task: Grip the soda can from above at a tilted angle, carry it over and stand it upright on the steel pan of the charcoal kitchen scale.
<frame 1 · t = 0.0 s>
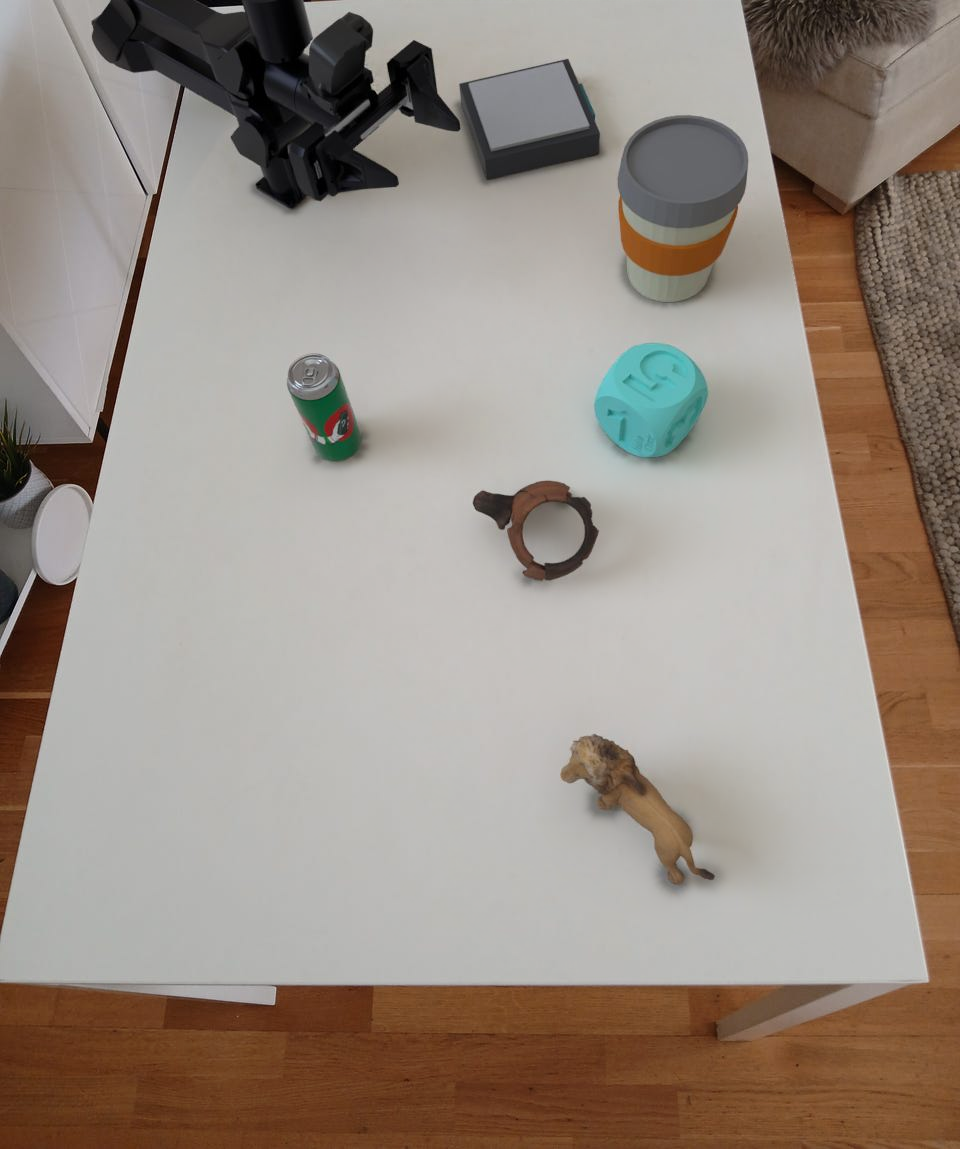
hand: (428, 153, 88), 17 cm above the table, tool horizontal, fingers open, 9 cm apart
scale: (528, 129, 112), on the table
soda can: (339, 444, 95), on the table
decorative dice: (647, 425, 93), on the table
reusable coffee cup: (667, 272, 101), on the table
lion figurine: (632, 818, 76), on the table
jagged brown ring: (535, 537, 88), on the table
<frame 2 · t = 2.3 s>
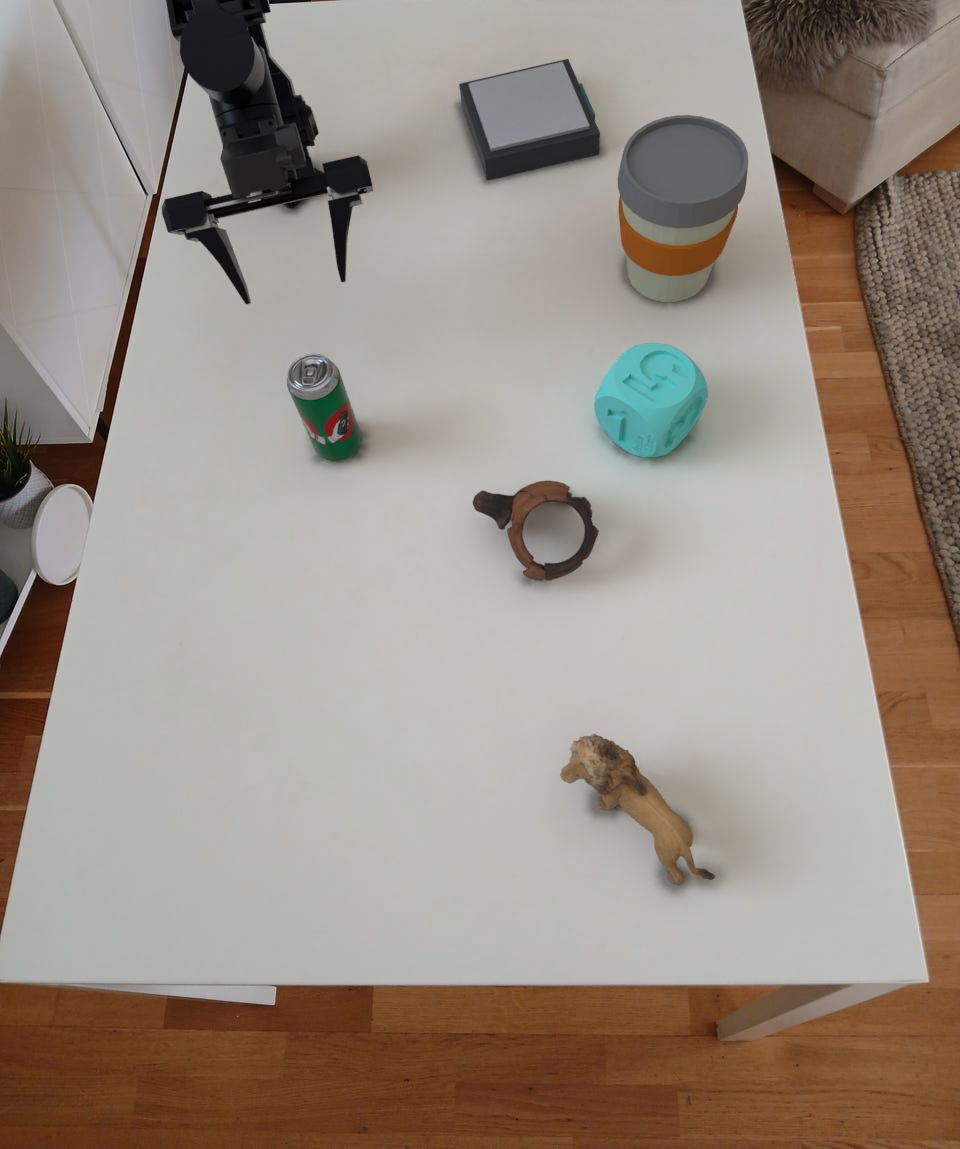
hand: (296, 293, 86), 14 cm above the table, tool tilted 45°, fingers open, 9 cm apart
nothing on the table moved.
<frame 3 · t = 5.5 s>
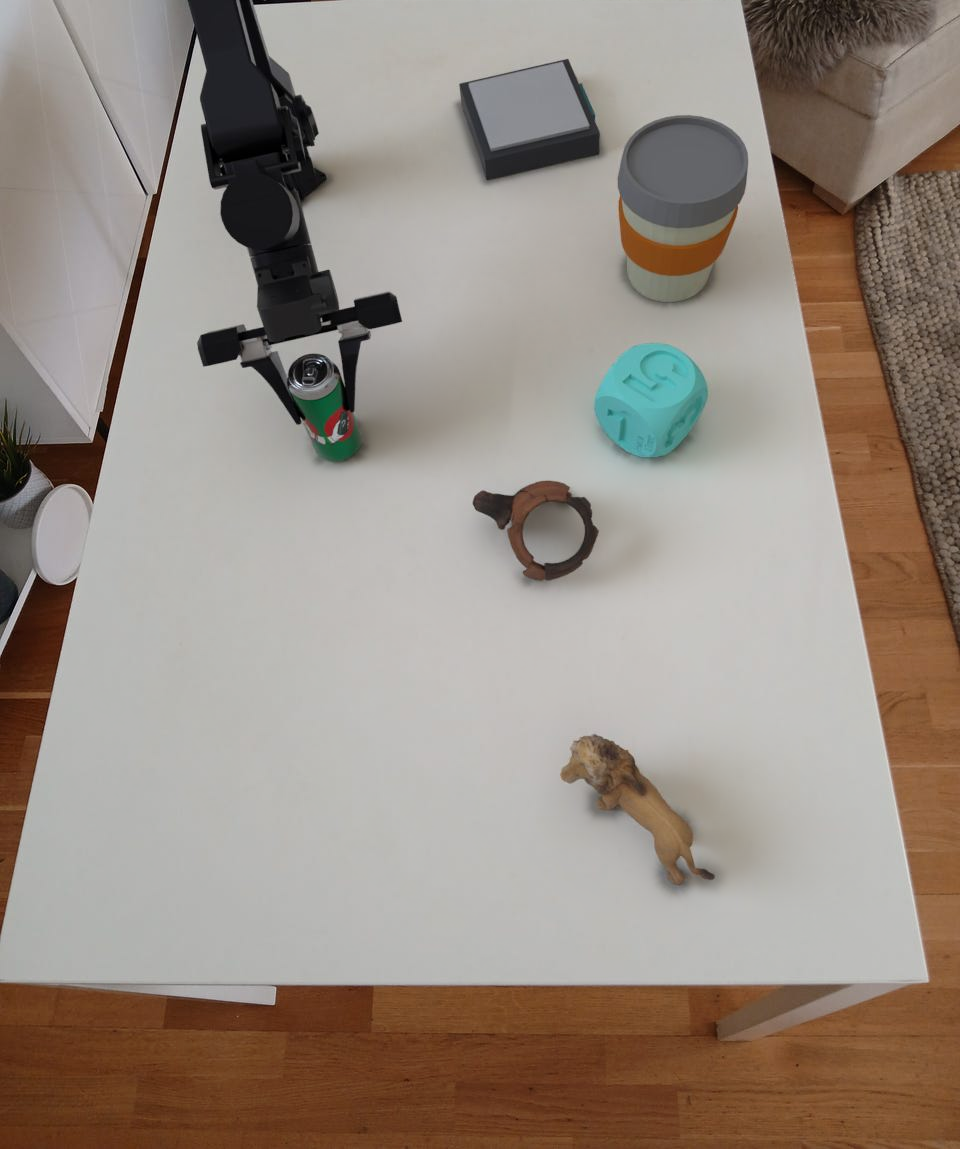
hand: (325, 418, 88), 7 cm above the table, tool tilted 45°, fingers closed on soda can, 5 cm apart
soda can: (339, 445, 95), on the table, touching gripper
everything else where it was.
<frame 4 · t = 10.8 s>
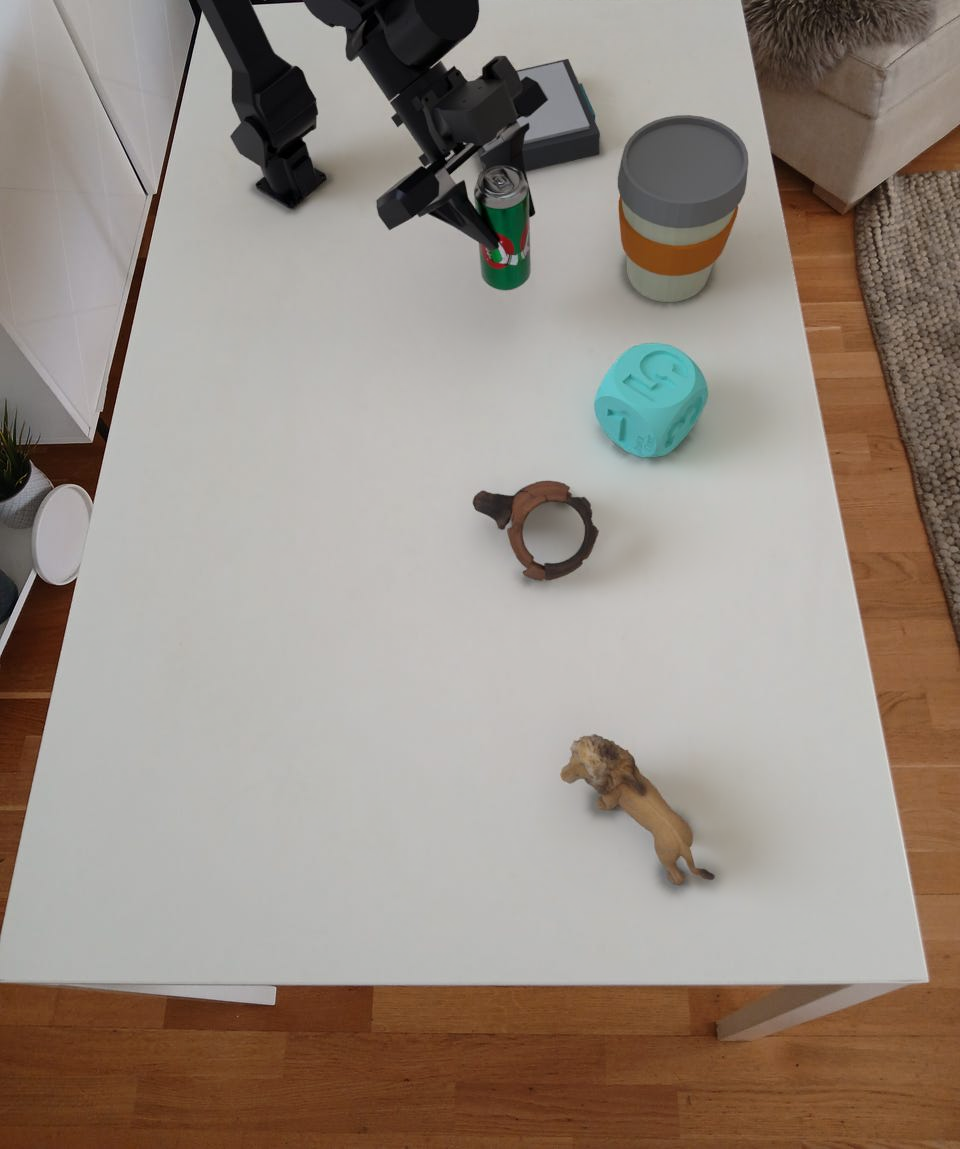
hand: (513, 232, 87), 14 cm above the table, tool tilted 45°, fingers closed on soda can, 5 cm apart
soda can: (506, 276, 94), point 7 cm above the table, touching gripper
everything else where it was.
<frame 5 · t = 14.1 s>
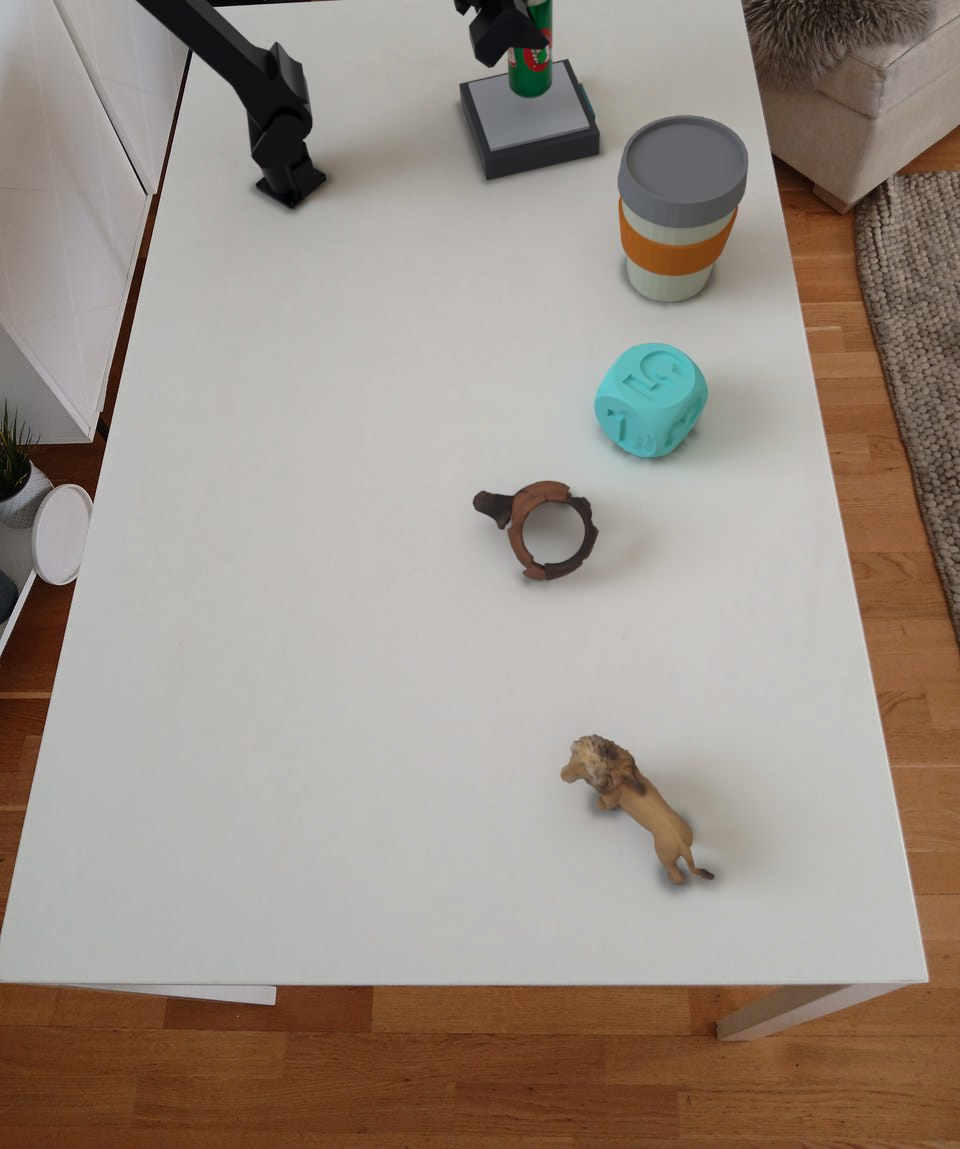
hand: (541, 30, 100), 13 cm above the table, tool tilted 45°, fingers closed on soda can, 5 cm apart
soda can: (530, 88, 106), point 7 cm above the table, touching gripper
everything else where it was.
when the fingers open (10 cm above the table, at t = 16.4 s): soda can stays where it is, resting on scale.
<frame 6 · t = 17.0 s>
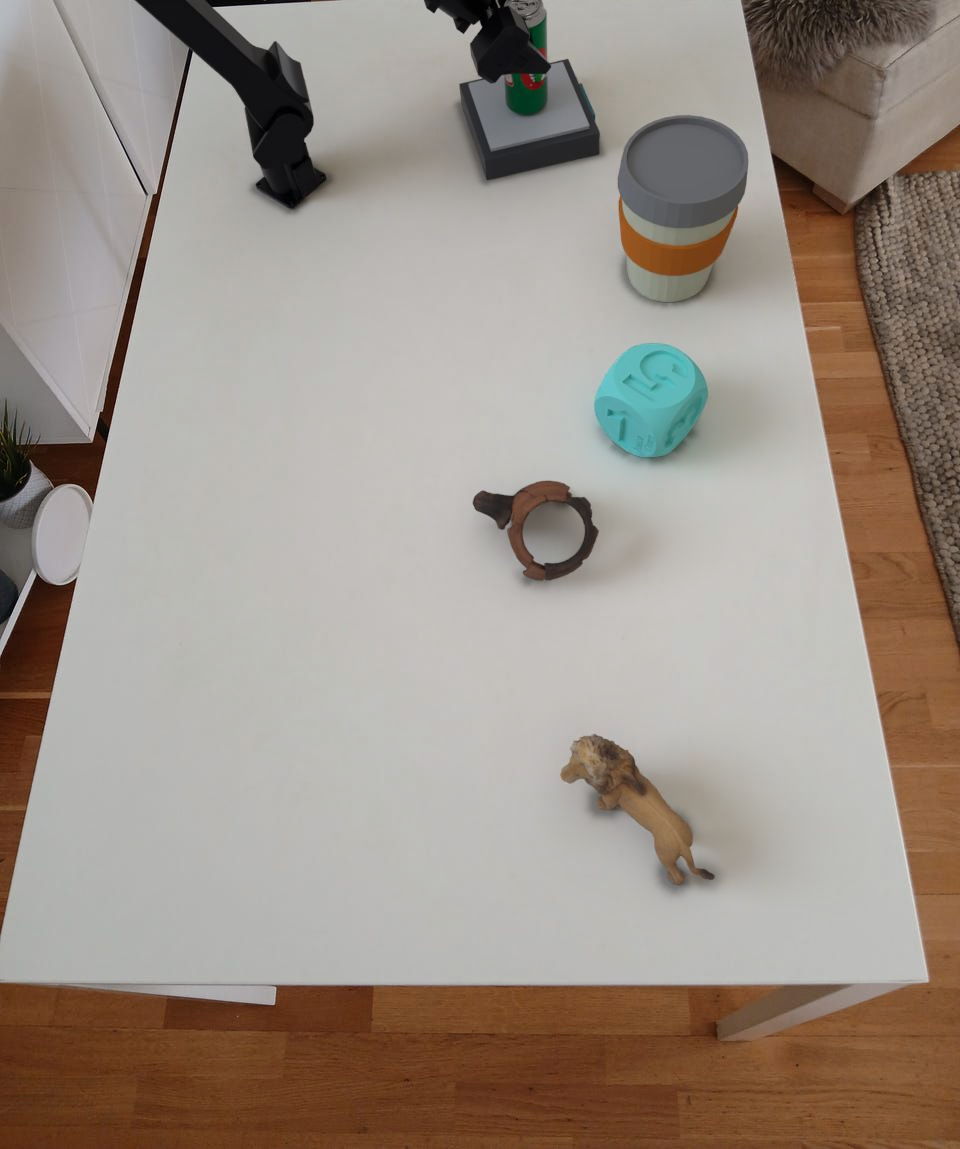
hand: (537, 43, 103), 11 cm above the table, tool tilted 45°, fingers open, 9 cm apart
soda can: (526, 105, 109), point 3 cm above the table, touching scale
everything else where it was.
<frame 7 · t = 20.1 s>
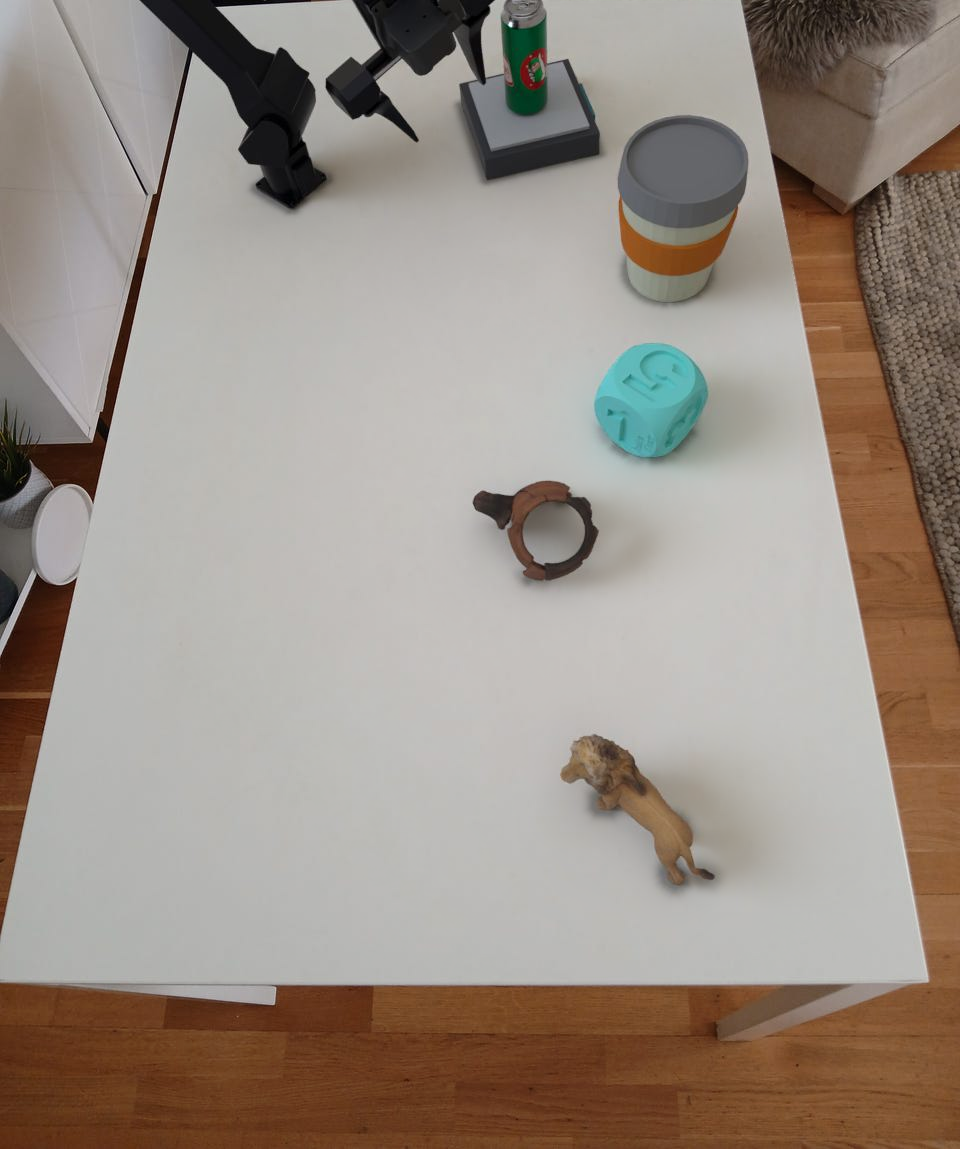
hand: (449, 112, 97), 12 cm above the table, tool tilted 25°, fingers open, 9 cm apart
nothing on the table moved.
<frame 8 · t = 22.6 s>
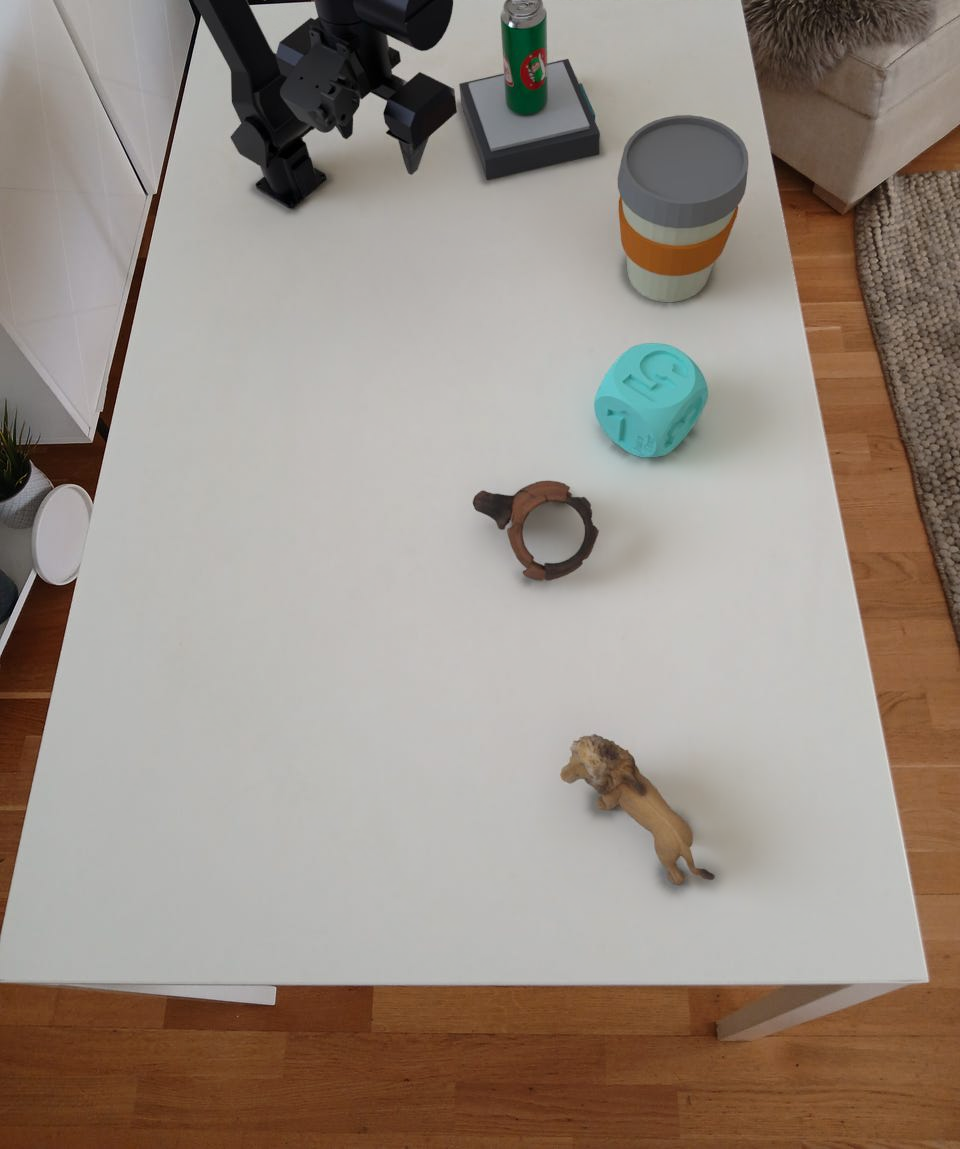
hand: (380, 154, 94), 13 cm above the table, tool pointing down, fingers open, 9 cm apart
nothing on the table moved.
at the end: soda can inside the target area on the scale (0.1 cm from its centre), point 3.3 cm above the scale's base; soda can tilted 0°; the gripper is holding nothing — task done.
